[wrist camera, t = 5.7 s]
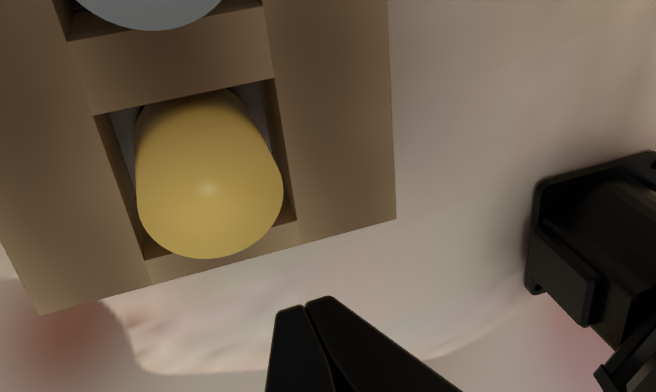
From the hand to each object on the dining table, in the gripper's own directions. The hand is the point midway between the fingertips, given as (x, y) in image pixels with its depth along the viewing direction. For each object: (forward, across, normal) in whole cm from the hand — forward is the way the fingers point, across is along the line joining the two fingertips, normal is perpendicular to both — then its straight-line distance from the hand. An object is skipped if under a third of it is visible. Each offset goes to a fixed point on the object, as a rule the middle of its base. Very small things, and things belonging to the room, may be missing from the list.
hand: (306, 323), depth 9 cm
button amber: (+12, +1, +2) cm, 12 cm away
